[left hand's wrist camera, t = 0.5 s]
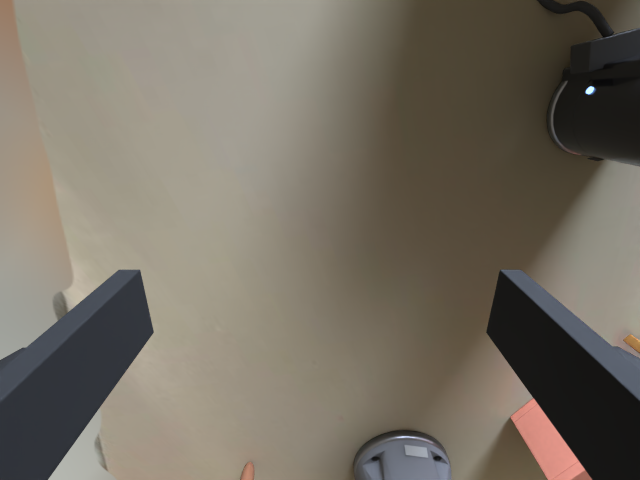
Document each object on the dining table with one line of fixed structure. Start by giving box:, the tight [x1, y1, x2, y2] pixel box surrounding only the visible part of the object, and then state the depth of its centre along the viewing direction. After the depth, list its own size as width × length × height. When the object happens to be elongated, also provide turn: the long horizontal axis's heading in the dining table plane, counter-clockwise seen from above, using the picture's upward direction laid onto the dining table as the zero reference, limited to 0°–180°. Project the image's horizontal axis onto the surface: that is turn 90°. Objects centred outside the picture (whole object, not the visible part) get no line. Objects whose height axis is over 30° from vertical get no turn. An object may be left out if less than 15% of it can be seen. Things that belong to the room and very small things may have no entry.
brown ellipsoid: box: [240, 462, 254, 480], centre depth 54 cm, size 2×2×5 cm
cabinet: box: [510, 398, 592, 480], centre depth 46 cm, size 17×12×11 cm, turn 145°
